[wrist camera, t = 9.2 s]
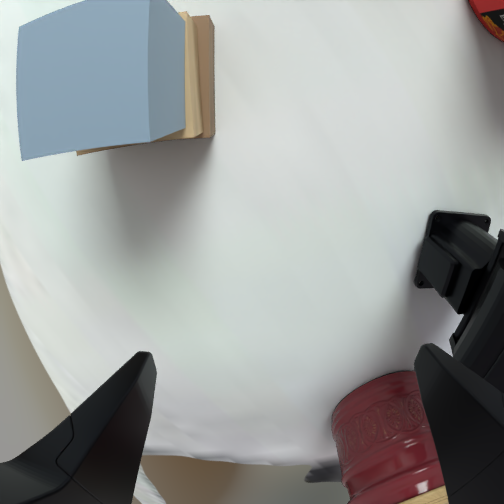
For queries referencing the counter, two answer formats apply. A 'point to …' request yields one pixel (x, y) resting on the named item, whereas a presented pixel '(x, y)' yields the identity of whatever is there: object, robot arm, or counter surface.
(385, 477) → the canister
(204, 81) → the tower base
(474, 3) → the canned food
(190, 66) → the tower mid
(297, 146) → the counter surface
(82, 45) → the block
